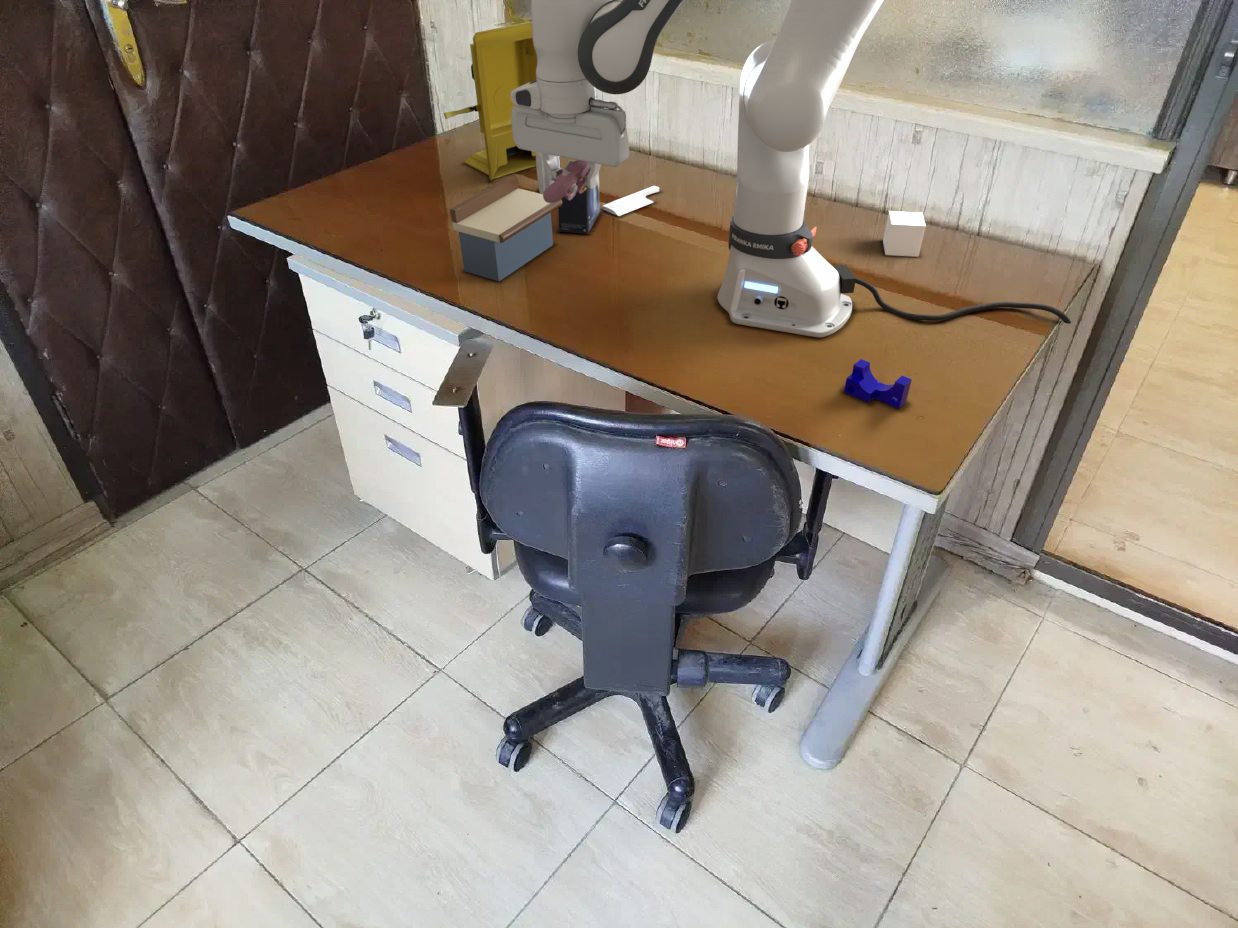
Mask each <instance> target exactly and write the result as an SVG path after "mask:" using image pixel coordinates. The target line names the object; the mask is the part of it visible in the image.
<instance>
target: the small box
mask: <svg viewBox="0 0 1238 928" xmlns="http://www.w3.org/2000/svg"><path fill="white" fill-rule="evenodd" d="M572 162H574V161H571V160H570V161H569V162H568V163H567V165H566V166H565V167H564V169H563V171H564V170H566V169H567V168H568V166H569V165H570V164H571V163H572ZM561 200H562V202H563V204H562V205H561V206H560V207H558V208H557V217H558V218H557V220H558V221H557V222H558V223H557V224H558V232H559V233H560V232H561V233H573V234H582V235H583V234H584V235H588V234H589V233H590V231H591V229H592V228H593V226H594V225H595V223H596V221H597V219H598V217H599V215H600V213H601V208H600V207H601V205H600V171H599V172H598V174H597V175H596V186H595V187H594V188H592V189H590V188H586V190H585V191H584V192H583V193H581V194H580V193H579V192H576V194H575V196H574V197H573V198H572V199H571V200H568V199H566V198H565V197H563V198H562V199H561Z"/></svg>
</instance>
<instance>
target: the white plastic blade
mask: <svg viewBox="0 0 1238 928" xmlns="http://www.w3.org/2000/svg"><path fill="white" fill-rule="evenodd" d="M659 192H660V187H659V186H658V185H657V186H656V185H652V186H650V187H647V188H644V189H641V190H639V191H637V192H634V193H631V194H628V195H625V196H623V197H621V198H617V199H615V200H613V201H610V202H608V203H605V204H602V205H601V209H602V210H603V211H606V212H608V213H610V214H612V215H615V216H617V217H621V216H623V215H625V214H628V213H631V212H634V211H635V210H638V209H640V208H643V207H646V206H648V205H650V204H651V205H652V204H653V203H654V201H653V200H651V199H649V198H647V196H650V195H652V194H655V193H659Z"/></svg>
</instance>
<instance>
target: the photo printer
mask: <svg viewBox="0 0 1238 928" xmlns="http://www.w3.org/2000/svg"><path fill="white" fill-rule="evenodd" d="M535 155H536V166H535V167H536V177H537V178H536V179H537V187H538V188H537V189H538V191H539V192H538V193H540V194H543V192H544V191H545V189H546V188H547V187H549V186H550V185H551V184H552V183H553V182H554V181H552V180H550V176H549V170H548V169H547V167H546V165H545V164H544V162H543V160H542V154H541V153H539V152H535ZM554 159H555V161H556V163H557V165H558V167H559V168H561V165H560V164H561V163H560V156H555V157H554Z"/></svg>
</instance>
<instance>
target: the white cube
mask: <svg viewBox="0 0 1238 928" xmlns="http://www.w3.org/2000/svg"><path fill="white" fill-rule="evenodd" d="M926 228H927V225H926V222H925V217H924V213H923V212H921V211H920V212H918V211H902V210H901V211H898V210H888V214H887V219H886V224H885V229H884V233H883V238H882V244H883V249H884V254H885V256H898V257H917V258H919V257H920V254H921V249H922V245H923V240H924V236H925V233H926Z"/></svg>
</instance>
